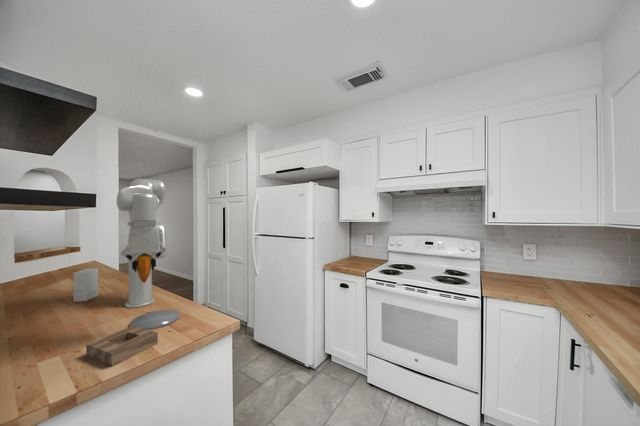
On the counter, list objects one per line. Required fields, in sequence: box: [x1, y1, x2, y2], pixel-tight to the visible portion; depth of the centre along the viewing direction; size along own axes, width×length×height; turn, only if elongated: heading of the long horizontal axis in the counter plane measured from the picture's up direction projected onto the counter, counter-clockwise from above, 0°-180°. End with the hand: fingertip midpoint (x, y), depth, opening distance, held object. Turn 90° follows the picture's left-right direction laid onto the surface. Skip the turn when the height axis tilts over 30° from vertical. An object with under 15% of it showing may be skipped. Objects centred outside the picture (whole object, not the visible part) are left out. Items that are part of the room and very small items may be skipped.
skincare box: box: [73, 268, 99, 302], centre depth 130 cm, size 8×7×16 cm
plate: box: [129, 309, 181, 331], centre depth 104 cm, size 18×18×1 cm
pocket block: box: [85, 326, 159, 368], centre depth 82 cm, size 14×14×4 cm
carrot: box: [136, 253, 152, 283], centre depth 95 cm, size 5×5×15 cm
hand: (144, 269), depth 95 cm, fingers closed on carrot, 4 cm apart
